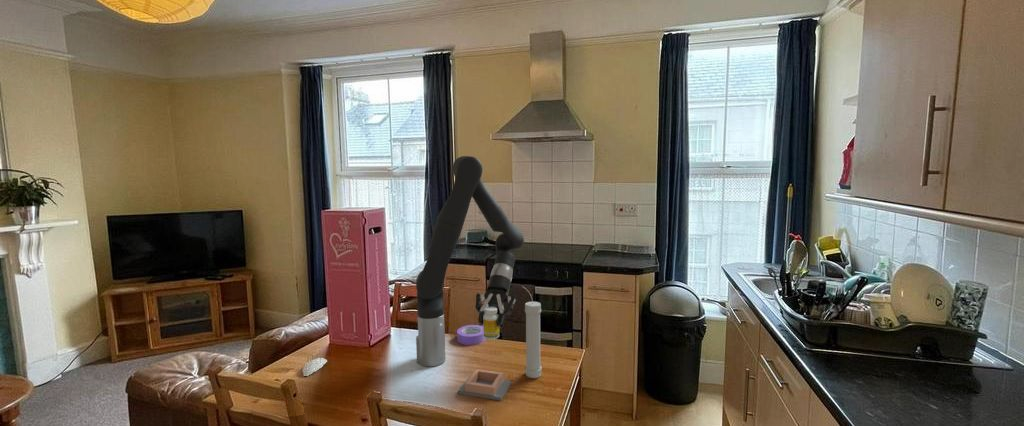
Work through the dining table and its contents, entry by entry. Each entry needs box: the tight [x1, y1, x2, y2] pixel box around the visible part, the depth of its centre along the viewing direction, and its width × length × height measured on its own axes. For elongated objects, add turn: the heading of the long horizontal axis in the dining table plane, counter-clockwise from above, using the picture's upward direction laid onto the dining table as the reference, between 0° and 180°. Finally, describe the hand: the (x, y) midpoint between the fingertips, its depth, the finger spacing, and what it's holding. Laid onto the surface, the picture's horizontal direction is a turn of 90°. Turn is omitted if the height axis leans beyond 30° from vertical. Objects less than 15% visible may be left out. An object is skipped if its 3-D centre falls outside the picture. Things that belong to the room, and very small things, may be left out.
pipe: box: [521, 286, 543, 379], centre depth 134 cm, size 6×6×30 cm
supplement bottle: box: [482, 307, 500, 340], centre depth 134 cm, size 5×5×10 cm
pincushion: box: [302, 353, 328, 377], centre depth 142 cm, size 12×6×6 cm, turn 176°
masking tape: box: [456, 324, 487, 346], centre depth 165 cm, size 12×12×4 cm
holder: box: [457, 368, 512, 402], centre depth 127 cm, size 14×10×4 cm
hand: (489, 324), depth 132 cm, fingers closed on supplement bottle, 5 cm apart
